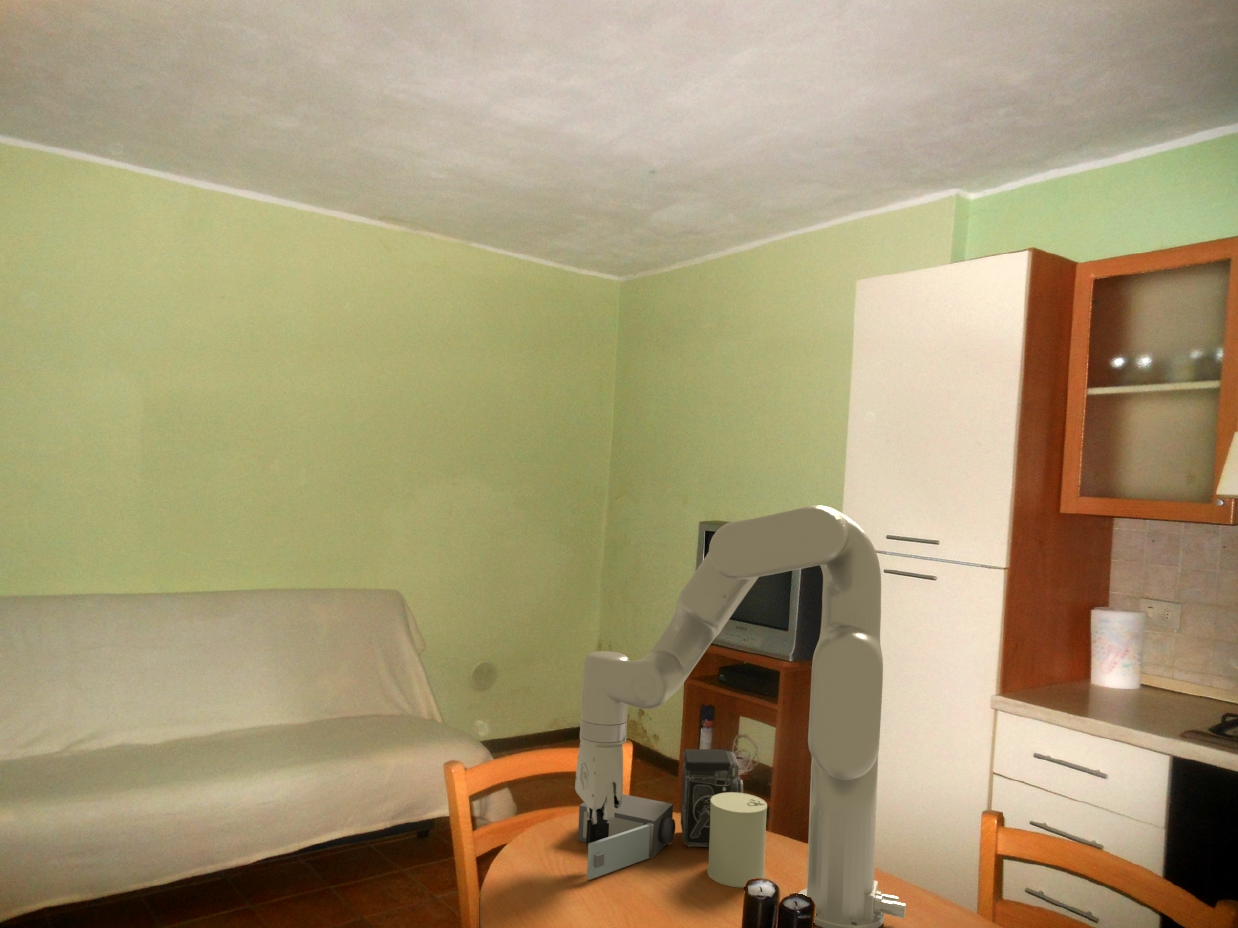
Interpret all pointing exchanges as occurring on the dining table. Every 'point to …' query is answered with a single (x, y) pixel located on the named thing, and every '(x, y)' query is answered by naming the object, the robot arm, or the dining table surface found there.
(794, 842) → the dining table surface
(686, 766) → the camera
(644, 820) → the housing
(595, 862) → the side door
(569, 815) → the dining table surface
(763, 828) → the can
